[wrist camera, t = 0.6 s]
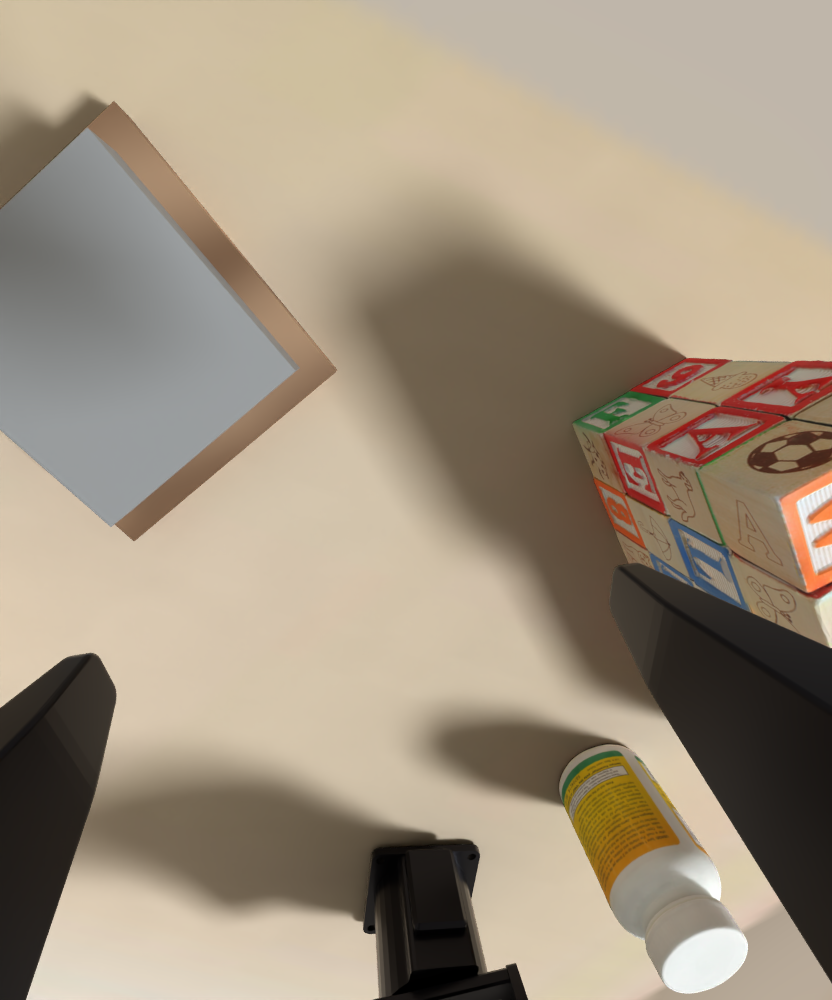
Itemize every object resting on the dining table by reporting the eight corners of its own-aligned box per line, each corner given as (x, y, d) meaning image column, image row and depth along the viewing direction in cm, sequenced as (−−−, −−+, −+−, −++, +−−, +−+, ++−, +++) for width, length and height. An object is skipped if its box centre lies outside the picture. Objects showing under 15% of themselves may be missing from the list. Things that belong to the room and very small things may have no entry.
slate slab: (299, 367, 20) (295, 370, 18) (132, 509, 20) (111, 527, 19) (115, 151, 17) (87, 127, 15) (-71, 325, 18) (-121, 323, 16)
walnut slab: (337, 368, 22) (336, 371, 20) (151, 524, 23) (134, 541, 21) (137, 125, 18) (113, 101, 16) (-72, 322, 19) (-117, 319, 17)
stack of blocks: (790, 678, 30) (1070, 890, 19) (698, 728, 30) (918, 968, 19) (685, 353, 23) (1029, 366, 12) (566, 420, 23) (785, 500, 12)
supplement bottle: (655, 751, 30) (789, 927, 21) (613, 818, 31) (722, 1011, 22) (581, 731, 29) (689, 909, 20) (540, 801, 30) (624, 998, 21)
